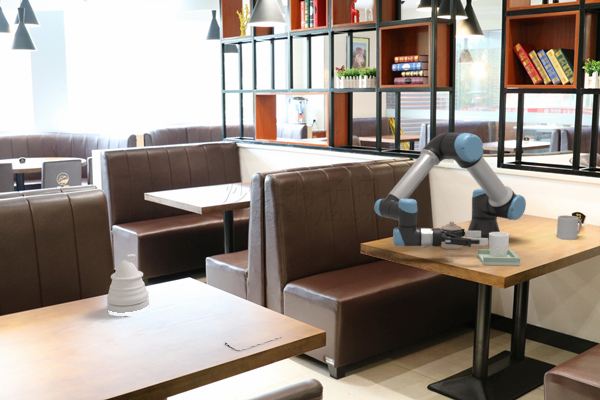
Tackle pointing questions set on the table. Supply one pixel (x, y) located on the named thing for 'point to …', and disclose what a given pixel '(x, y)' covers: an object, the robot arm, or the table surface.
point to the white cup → (498, 244)
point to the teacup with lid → (450, 227)
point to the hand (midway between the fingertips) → (484, 237)
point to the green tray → (498, 258)
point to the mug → (568, 227)
